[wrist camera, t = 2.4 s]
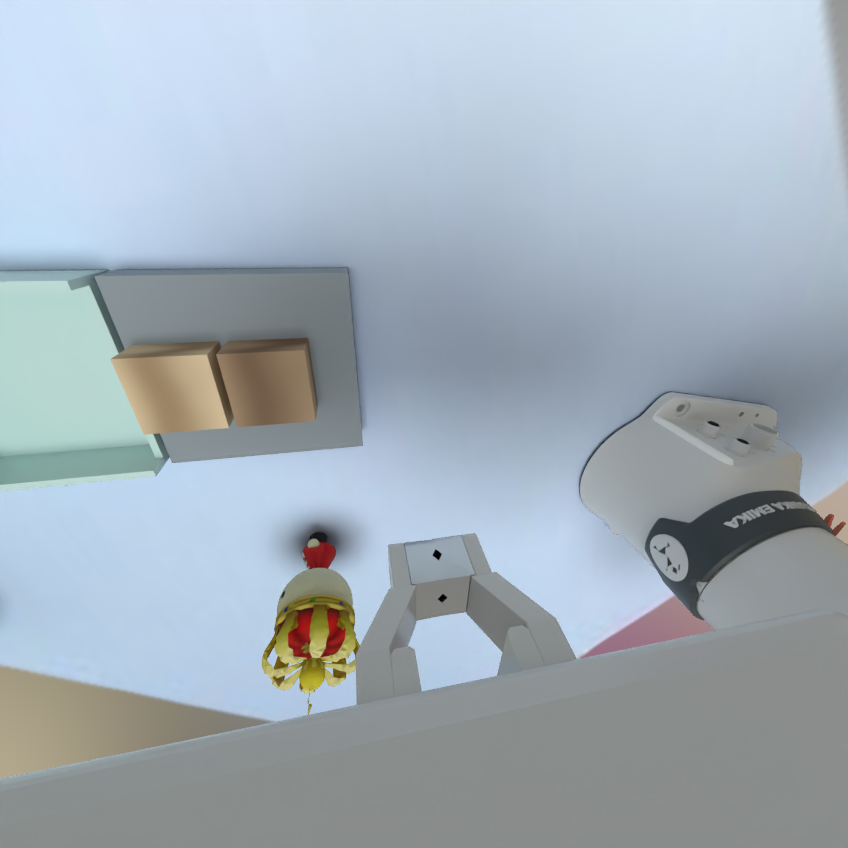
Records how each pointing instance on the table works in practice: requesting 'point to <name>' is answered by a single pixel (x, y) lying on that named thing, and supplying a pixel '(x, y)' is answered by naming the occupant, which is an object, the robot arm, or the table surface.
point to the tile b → (269, 381)
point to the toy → (313, 624)
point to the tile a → (174, 386)
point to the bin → (64, 386)
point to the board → (249, 320)
